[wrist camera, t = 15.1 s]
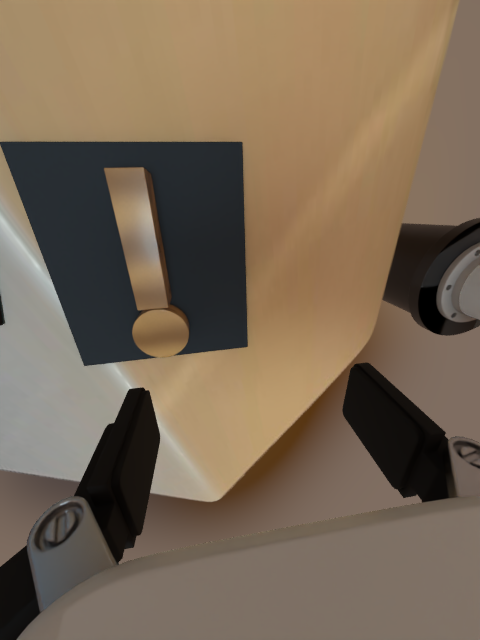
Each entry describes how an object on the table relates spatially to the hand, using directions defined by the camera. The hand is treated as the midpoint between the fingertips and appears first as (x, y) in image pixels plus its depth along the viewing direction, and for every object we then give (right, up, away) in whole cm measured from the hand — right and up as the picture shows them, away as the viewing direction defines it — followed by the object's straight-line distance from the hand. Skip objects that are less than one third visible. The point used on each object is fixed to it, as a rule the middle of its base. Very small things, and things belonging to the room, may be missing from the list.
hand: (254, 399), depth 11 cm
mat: (-10, +9, +15) cm, 20 cm away
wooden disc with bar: (-10, +9, +14) cm, 19 cm away
